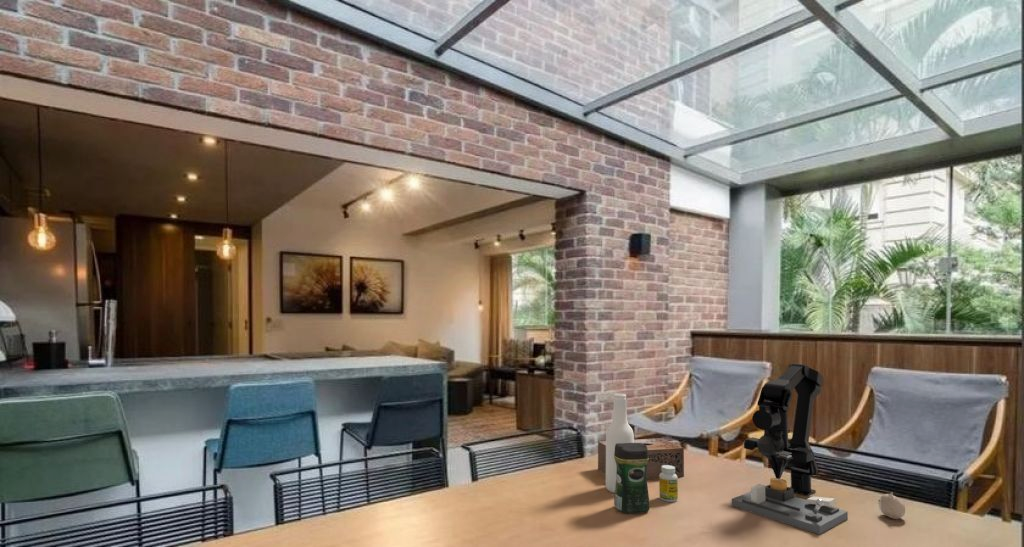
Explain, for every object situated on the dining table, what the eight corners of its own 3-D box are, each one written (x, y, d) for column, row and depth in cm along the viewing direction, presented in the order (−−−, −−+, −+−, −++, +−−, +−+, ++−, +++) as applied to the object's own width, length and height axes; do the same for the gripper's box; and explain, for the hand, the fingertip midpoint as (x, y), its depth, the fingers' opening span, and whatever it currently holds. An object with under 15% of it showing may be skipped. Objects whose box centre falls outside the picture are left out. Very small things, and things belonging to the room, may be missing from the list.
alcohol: (635, 487, 166) (635, 393, 168) (632, 496, 158) (632, 397, 160) (607, 483, 169) (608, 391, 171) (603, 492, 161) (604, 395, 163)
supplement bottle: (667, 495, 160) (667, 463, 160) (681, 500, 155) (681, 467, 156) (655, 498, 157) (655, 465, 157) (669, 503, 152) (669, 470, 153)
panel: (762, 493, 162) (762, 479, 163) (847, 518, 143) (847, 502, 144) (731, 505, 151) (731, 490, 152) (819, 534, 132) (819, 516, 133)
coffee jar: (641, 503, 152) (641, 439, 153) (653, 514, 144) (653, 446, 145) (610, 505, 150) (610, 440, 152) (620, 515, 142) (620, 447, 144)
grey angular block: (760, 499, 151) (759, 483, 152) (765, 500, 150) (765, 485, 150) (751, 502, 148) (751, 487, 149) (756, 504, 147) (756, 488, 147)
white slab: (813, 500, 148) (812, 496, 149) (836, 503, 144) (835, 498, 144) (807, 503, 146) (806, 499, 146) (830, 506, 141) (829, 501, 142)
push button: (774, 487, 158) (774, 477, 158) (789, 491, 154) (789, 481, 154) (767, 489, 155) (767, 479, 155) (782, 494, 151) (782, 483, 152)
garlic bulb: (873, 514, 147) (872, 486, 147) (887, 511, 149) (886, 483, 150) (898, 523, 141) (897, 493, 141) (912, 520, 143) (911, 490, 144)
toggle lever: (812, 509, 138) (819, 496, 137) (819, 514, 137) (826, 501, 136) (809, 511, 137) (816, 498, 136) (816, 516, 136) (823, 502, 135)
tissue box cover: (661, 465, 192) (661, 438, 193) (683, 477, 178) (683, 448, 179) (597, 469, 185) (598, 441, 186) (616, 482, 171) (616, 451, 172)
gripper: (733, 423, 159) (734, 474, 157) (797, 435, 144) (798, 492, 143) (752, 419, 165) (753, 468, 164) (814, 430, 151) (816, 485, 149)
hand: (778, 478), depth 155 cm, fingers closed
